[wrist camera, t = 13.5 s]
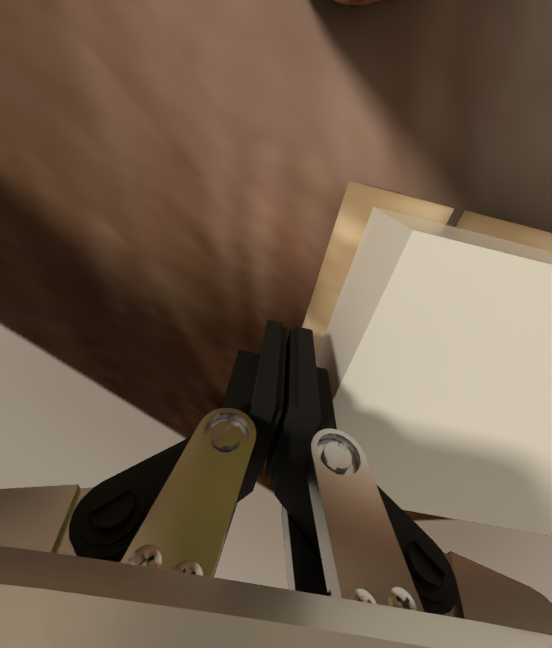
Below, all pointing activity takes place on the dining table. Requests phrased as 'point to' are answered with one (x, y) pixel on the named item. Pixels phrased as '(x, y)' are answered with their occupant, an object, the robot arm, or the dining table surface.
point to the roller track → (352, 228)
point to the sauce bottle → (356, 2)
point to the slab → (447, 370)
